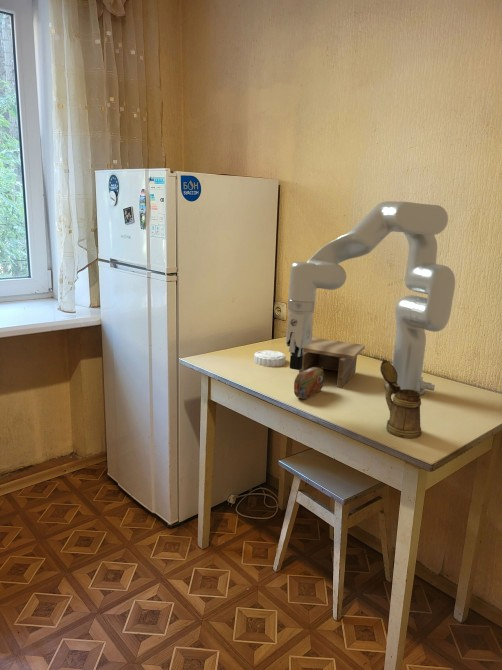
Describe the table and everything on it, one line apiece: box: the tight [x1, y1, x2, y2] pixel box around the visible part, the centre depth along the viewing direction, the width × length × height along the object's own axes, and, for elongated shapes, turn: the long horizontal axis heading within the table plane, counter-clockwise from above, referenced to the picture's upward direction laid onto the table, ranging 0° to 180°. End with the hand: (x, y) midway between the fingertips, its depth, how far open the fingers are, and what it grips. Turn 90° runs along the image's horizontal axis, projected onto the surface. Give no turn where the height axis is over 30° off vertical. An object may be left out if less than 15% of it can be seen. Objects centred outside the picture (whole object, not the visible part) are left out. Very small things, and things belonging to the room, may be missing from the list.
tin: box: [293, 367, 325, 400], centre depth 161 cm, size 15×3×8 cm, turn 143°
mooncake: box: [253, 349, 287, 368], centre depth 195 cm, size 12×12×4 cm
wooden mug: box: [379, 359, 422, 439], centre depth 137 cm, size 9×14×18 cm, turn 40°
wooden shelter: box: [298, 336, 366, 389], centre depth 180 cm, size 20×20×11 cm
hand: (295, 368), depth 148 cm, fingers closed
